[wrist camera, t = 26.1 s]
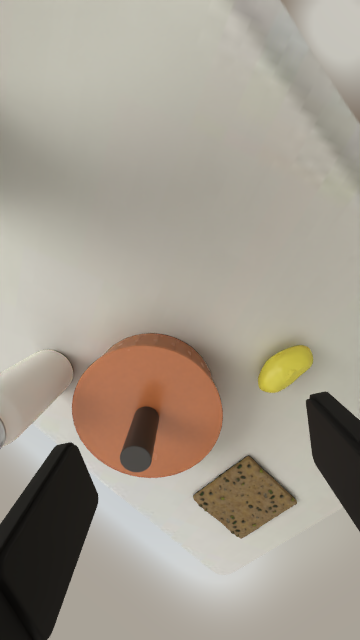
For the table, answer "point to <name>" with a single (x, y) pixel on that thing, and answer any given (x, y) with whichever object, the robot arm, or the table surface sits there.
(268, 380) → the lemon
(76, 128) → the table surface
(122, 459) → the lid
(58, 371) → the can
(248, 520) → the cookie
